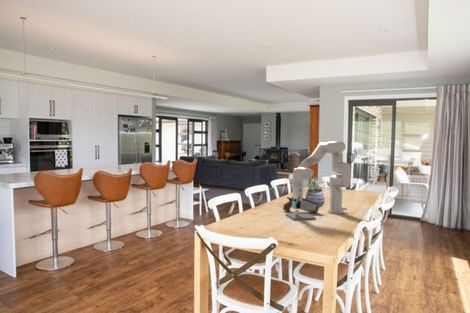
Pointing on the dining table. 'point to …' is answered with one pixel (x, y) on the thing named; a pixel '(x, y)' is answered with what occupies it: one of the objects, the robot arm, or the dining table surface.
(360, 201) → the dining table surface
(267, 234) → the dining table surface
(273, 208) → the dining table surface
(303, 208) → the gun
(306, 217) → the board
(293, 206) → the teal rectangular block
